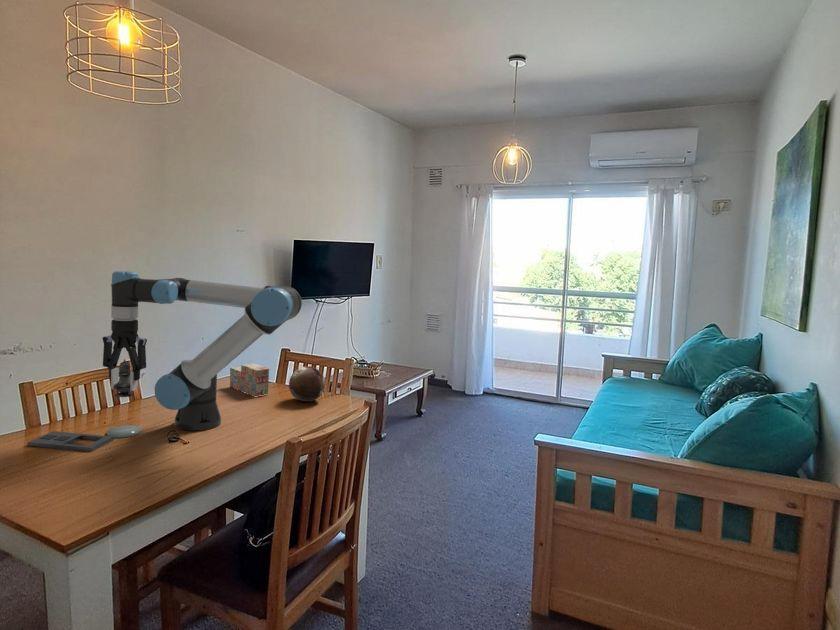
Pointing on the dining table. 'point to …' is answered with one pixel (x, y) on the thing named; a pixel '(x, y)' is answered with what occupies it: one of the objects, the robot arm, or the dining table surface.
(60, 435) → the grey compartment tray
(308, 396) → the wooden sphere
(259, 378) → the stack of blocks
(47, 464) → the dining table surface
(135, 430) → the coaster
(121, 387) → the dark grey chess piece
